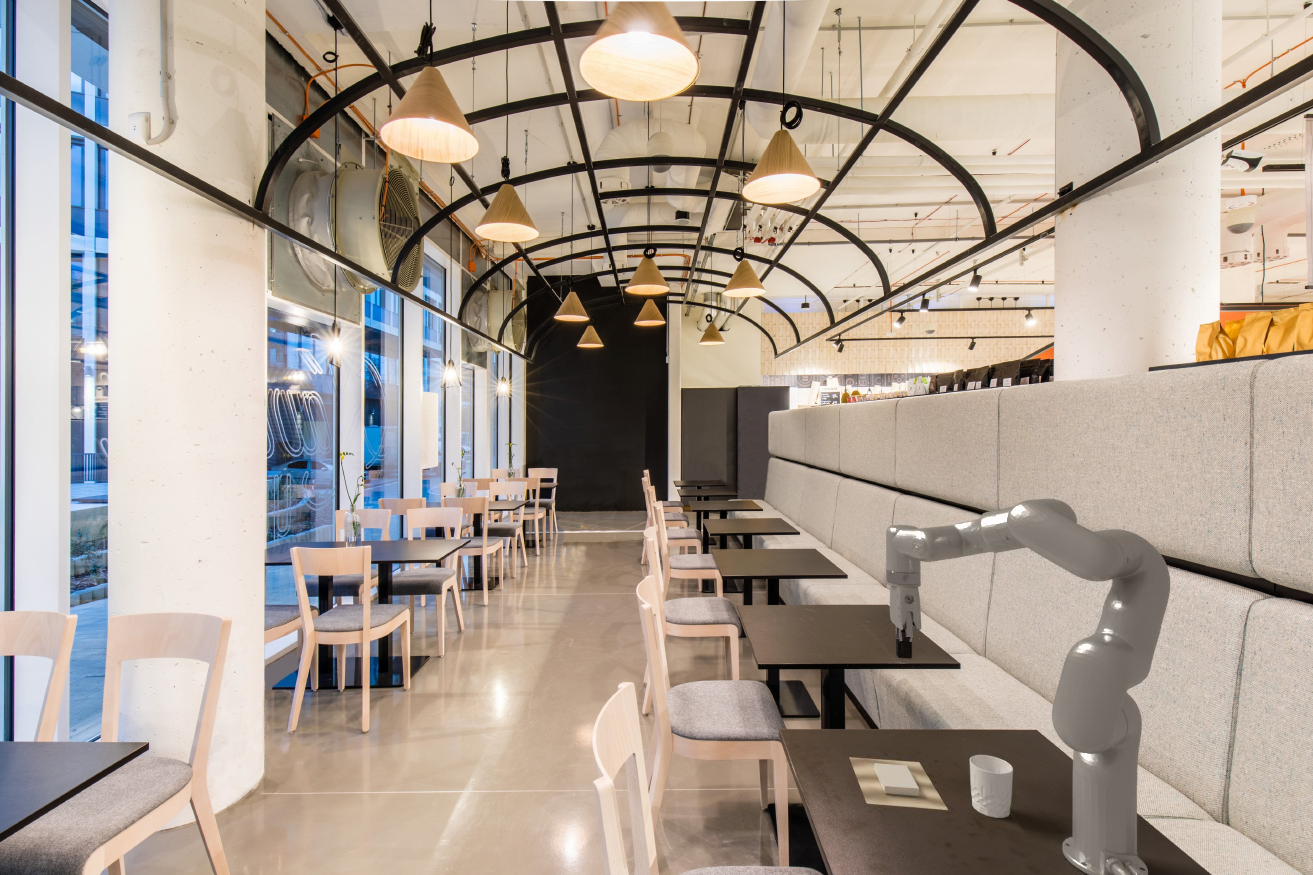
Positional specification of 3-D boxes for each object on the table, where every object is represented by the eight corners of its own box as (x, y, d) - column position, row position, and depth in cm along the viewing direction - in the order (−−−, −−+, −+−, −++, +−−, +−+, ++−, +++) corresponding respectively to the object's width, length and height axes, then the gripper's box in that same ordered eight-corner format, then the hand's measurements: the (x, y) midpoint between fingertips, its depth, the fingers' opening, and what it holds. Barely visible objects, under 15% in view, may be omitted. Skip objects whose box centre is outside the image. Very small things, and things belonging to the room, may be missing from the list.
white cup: (1018, 826, 126) (1018, 775, 126) (975, 821, 127) (975, 770, 127) (1005, 805, 133) (1005, 756, 134) (964, 800, 135) (965, 752, 135)
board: (947, 814, 129) (948, 809, 129) (866, 808, 131) (866, 803, 131) (919, 766, 149) (919, 762, 149) (849, 761, 151) (849, 757, 151)
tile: (906, 773, 144) (919, 797, 134) (874, 770, 145) (884, 794, 135) (906, 765, 144) (919, 788, 134) (874, 762, 145) (884, 785, 135)
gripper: (929, 584, 142) (930, 668, 141) (911, 573, 157) (911, 648, 156) (895, 583, 143) (895, 666, 142) (879, 572, 158) (880, 647, 157)
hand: (904, 657), depth 149 cm, fingers closed
